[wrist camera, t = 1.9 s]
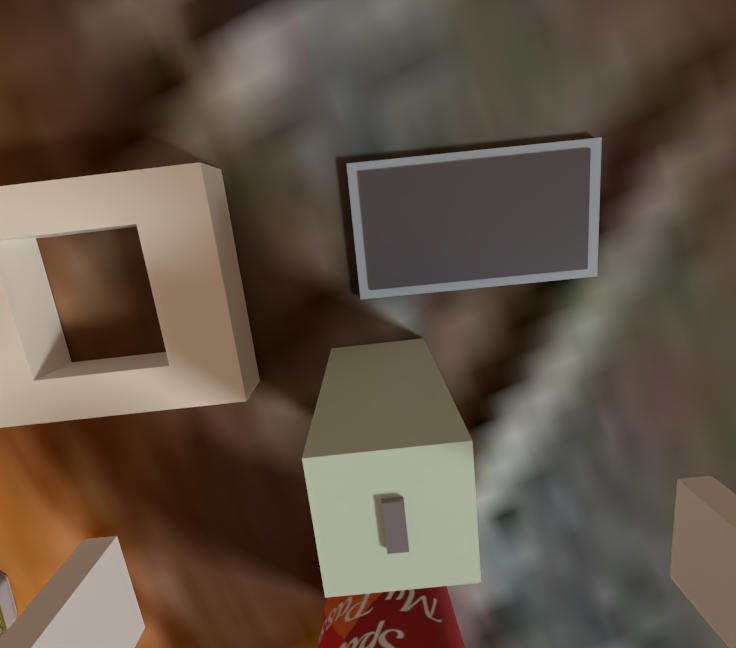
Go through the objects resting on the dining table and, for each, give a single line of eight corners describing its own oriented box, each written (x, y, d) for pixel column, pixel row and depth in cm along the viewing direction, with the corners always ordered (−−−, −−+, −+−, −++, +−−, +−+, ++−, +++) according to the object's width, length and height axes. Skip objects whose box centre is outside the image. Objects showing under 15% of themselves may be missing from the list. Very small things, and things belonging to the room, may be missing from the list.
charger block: (430, 422, 22) (482, 588, 12) (342, 431, 22) (324, 603, 12) (423, 338, 21) (474, 444, 11) (331, 348, 21) (300, 462, 11)
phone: (586, 273, 21) (598, 276, 20) (360, 295, 21) (360, 299, 20) (589, 141, 19) (602, 137, 18) (347, 165, 20) (346, 163, 19)
